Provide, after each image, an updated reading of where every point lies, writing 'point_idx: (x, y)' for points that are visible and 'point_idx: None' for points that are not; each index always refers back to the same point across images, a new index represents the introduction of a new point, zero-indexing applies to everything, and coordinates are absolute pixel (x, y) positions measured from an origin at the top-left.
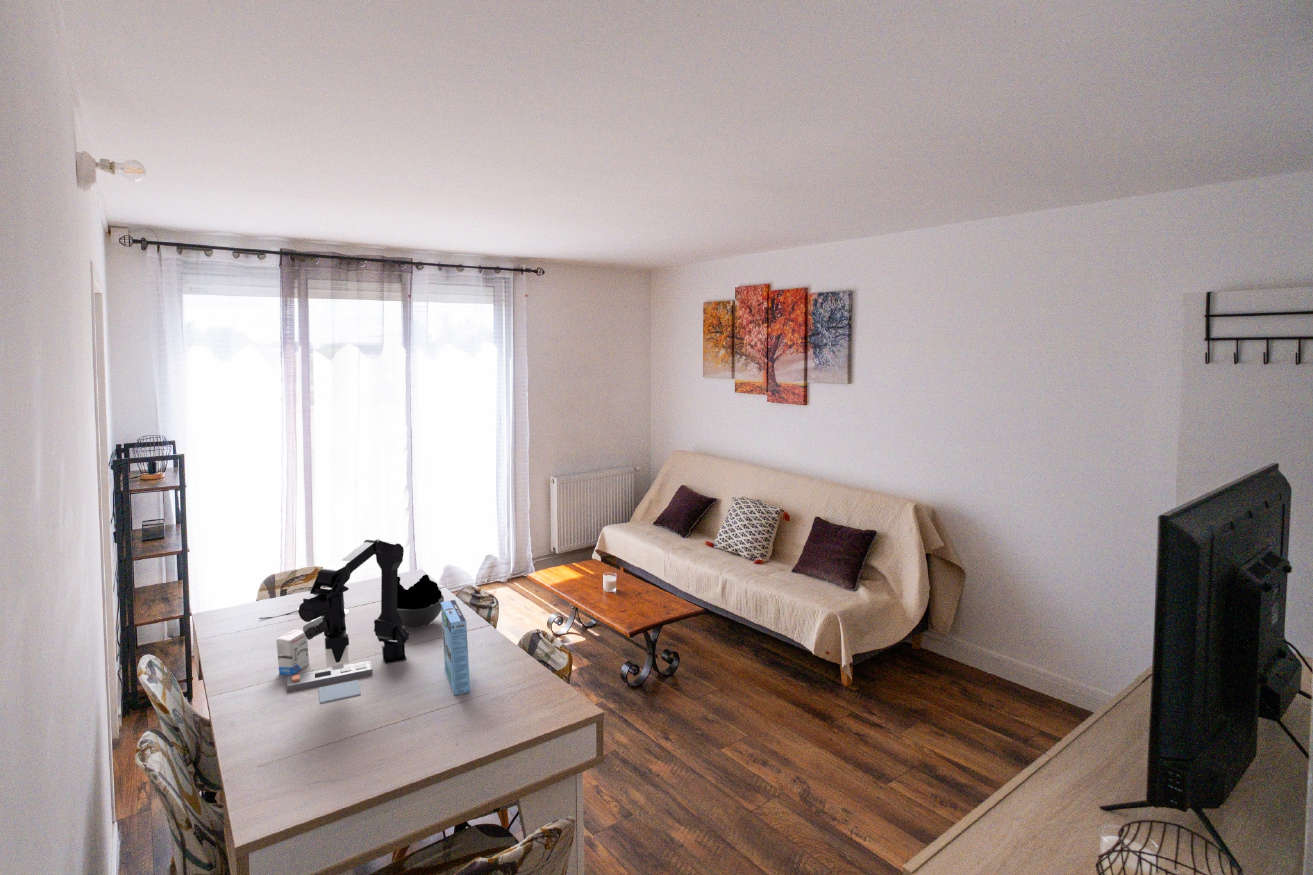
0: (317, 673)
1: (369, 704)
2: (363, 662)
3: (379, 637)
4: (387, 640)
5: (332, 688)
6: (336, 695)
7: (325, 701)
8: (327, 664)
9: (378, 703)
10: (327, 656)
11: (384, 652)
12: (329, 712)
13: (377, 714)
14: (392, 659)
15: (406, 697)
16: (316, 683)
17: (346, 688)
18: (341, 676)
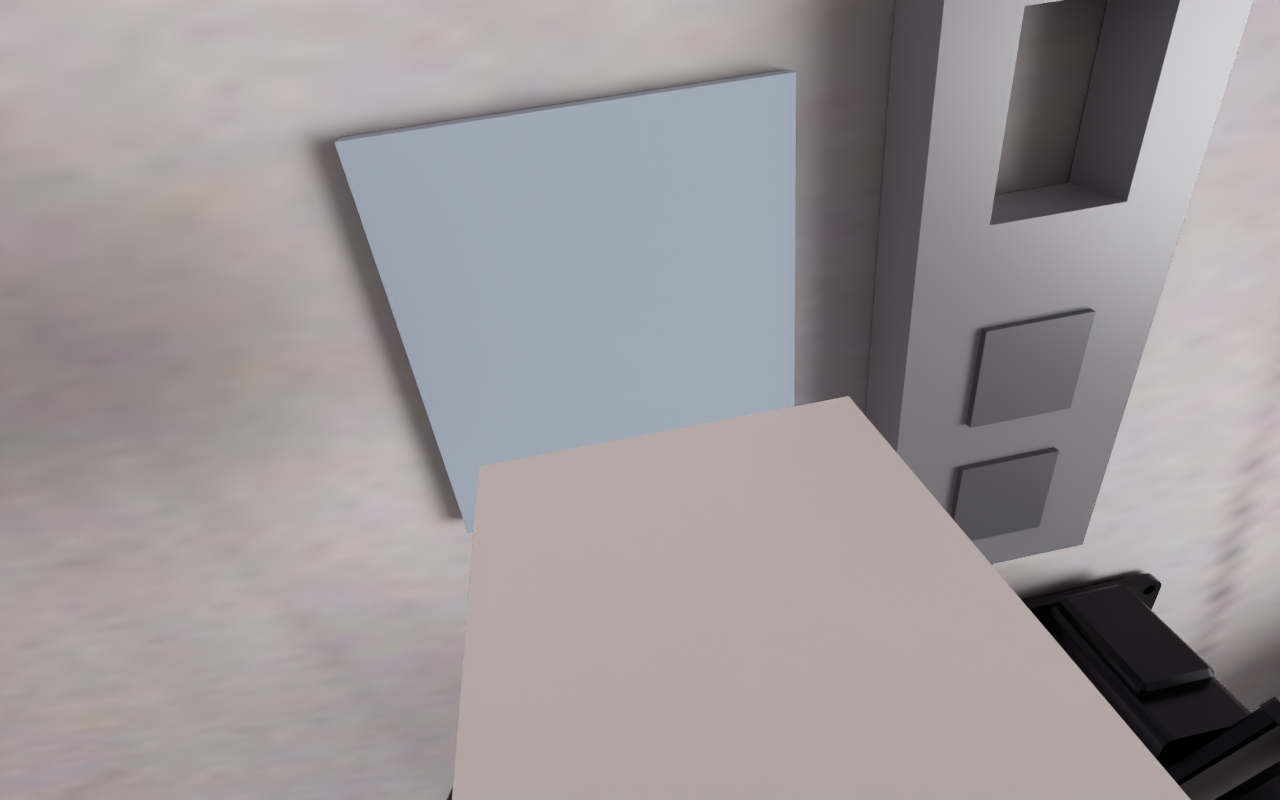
0: (1166, 23)
1: (259, 606)
2: (1078, 502)
3: (1268, 792)
4: (1204, 772)
5: (695, 253)
6: (488, 321)
7: (358, 210)
8: (483, 527)
9: (270, 660)
10: (470, 756)
11: (1105, 660)
12: (88, 282)
13: (45, 685)
14: None
15: (348, 789)
16: (915, 30)
17: (635, 397)
18: (899, 338)
